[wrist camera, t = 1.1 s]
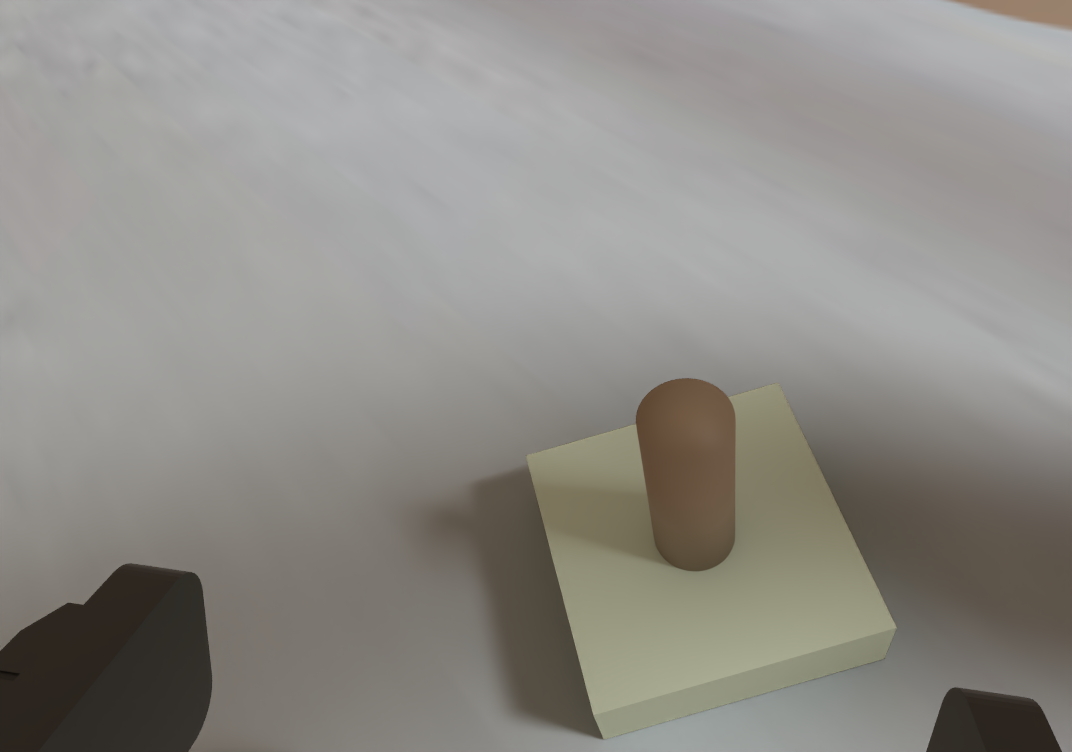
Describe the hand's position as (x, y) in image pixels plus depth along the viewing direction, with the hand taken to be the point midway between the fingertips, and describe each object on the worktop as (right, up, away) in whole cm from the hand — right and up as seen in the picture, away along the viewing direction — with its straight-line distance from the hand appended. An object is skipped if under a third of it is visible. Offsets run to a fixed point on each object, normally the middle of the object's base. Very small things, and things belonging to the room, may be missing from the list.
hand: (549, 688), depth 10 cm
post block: (+6, -4, +25) cm, 26 cm away
